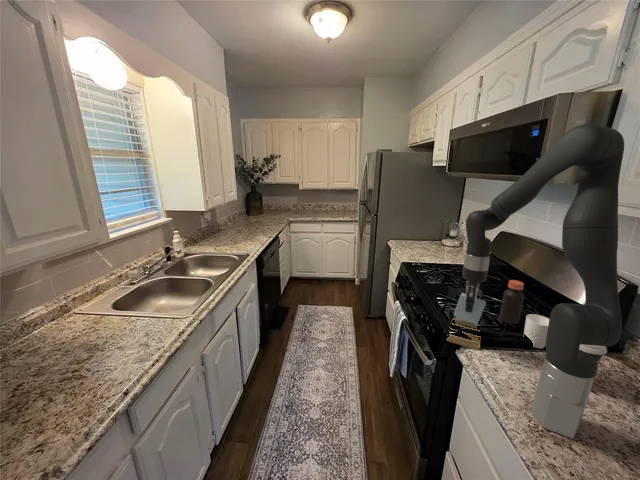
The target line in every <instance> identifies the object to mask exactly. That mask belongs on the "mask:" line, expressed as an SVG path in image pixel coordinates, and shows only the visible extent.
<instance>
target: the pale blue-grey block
mask: <svg viewBox="0 0 640 480" xmlns="http://www.w3.org/2000/svg"><path fill="white" fill-rule="evenodd" d="M466 298H467V297H466V293H464V292H461V295H460V296H459V299H458V302H457V305H456V307H455V309H454V313H453V316H454V317H459V318H461V319H464V320H466V321H468V322H471V323H473V324H476V325H477V324H478V325H479V321H480V319H481V318H482V317H481V316H482V315H483V312H484V310H485V307H486V305H487V301H486V300H484V299H481V298H477V297H476V298H475V299H474V304H473V309H472V312H471V313H470V312H466V311H465V308H466Z"/></svg>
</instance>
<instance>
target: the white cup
mask: <svg viewBox="0 0 640 480" xmlns="http://www.w3.org/2000/svg"><path fill="white" fill-rule="evenodd" d="M549 319H550V318H548V317H546V316H544V315H540V314H534V313H533V314H532V313H531V314H530V313H528V314H526V316H525V323H524V329H523V335H524V334H525V335H526V336H527V337H528V338H529V339H530V340H531V341H532V343H533V348H536V349H545V348H546V347H545V346H546V337H547V331H548V325H549ZM544 347H545V348H544Z"/></svg>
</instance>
